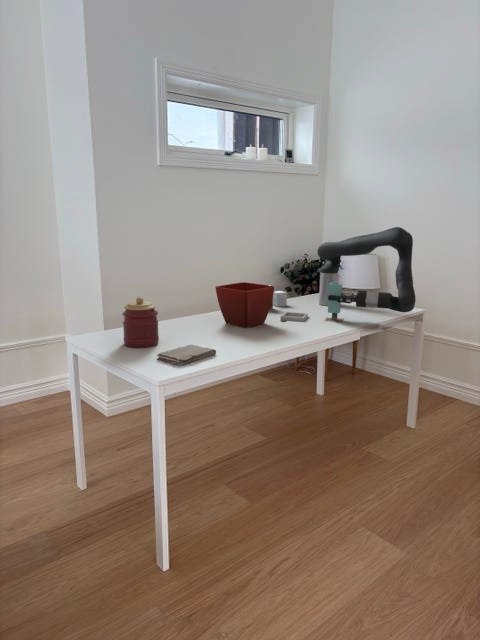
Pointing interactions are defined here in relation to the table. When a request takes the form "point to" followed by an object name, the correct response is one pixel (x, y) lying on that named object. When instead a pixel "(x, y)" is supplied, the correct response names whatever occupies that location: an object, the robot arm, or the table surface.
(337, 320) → the square wooden base
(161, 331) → the table surface
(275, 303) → the skincare box
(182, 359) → the washcloth
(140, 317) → the canister
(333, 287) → the teal square tube
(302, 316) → the tray
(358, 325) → the table surface
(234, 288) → the plant pot
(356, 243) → the robot arm
